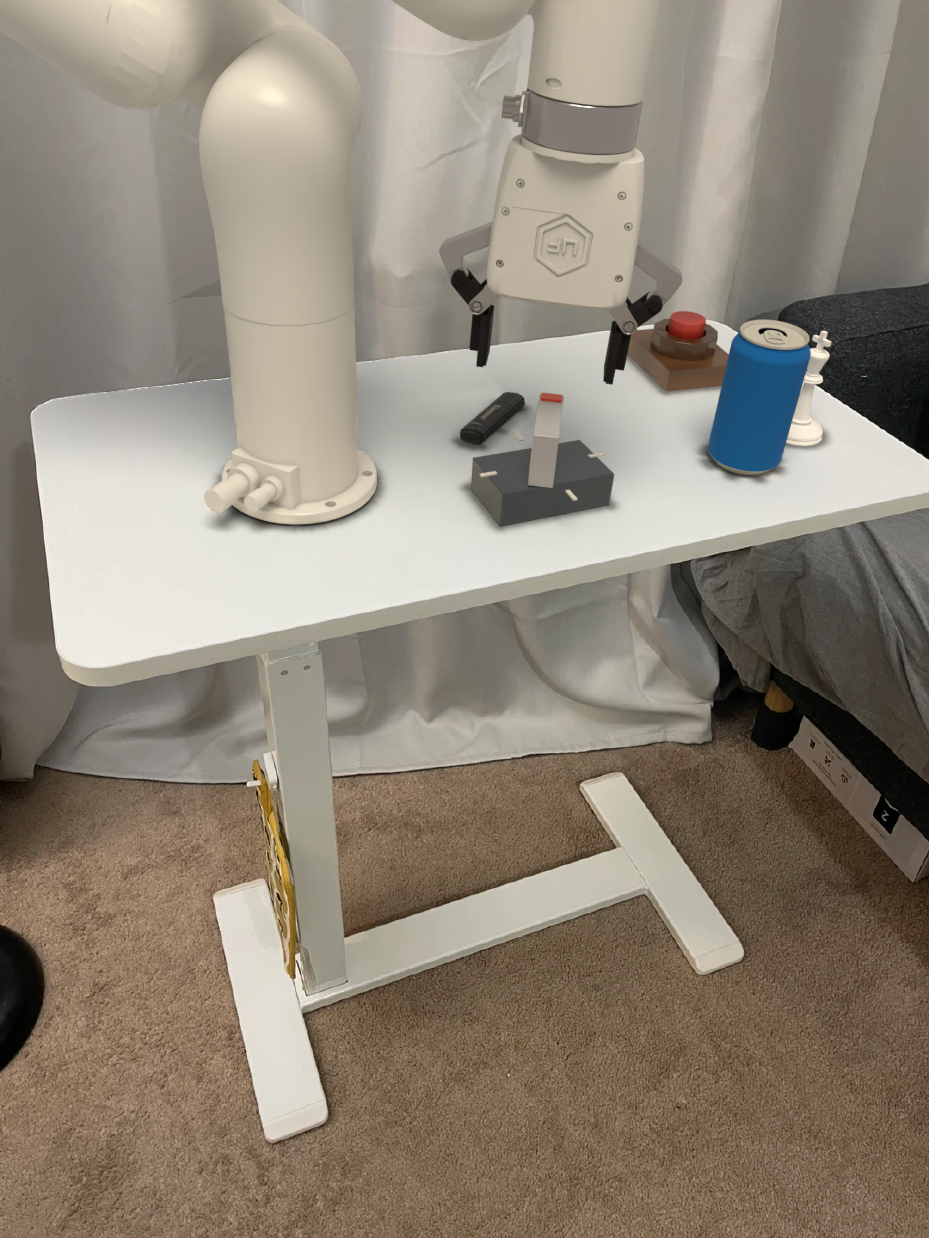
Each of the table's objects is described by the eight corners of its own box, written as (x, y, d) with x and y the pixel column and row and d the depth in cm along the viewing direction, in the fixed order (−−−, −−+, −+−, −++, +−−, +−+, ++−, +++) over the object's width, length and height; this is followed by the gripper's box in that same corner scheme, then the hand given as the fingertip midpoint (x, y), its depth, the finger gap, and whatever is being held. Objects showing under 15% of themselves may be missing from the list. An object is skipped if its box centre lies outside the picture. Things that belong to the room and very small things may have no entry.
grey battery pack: (552, 488, 79) (559, 434, 76) (527, 485, 79) (533, 431, 76) (558, 445, 84) (564, 393, 81) (534, 442, 84) (539, 391, 81)
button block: (736, 384, 102) (745, 347, 99) (666, 392, 100) (673, 354, 97) (689, 344, 109) (697, 309, 107) (623, 350, 107) (629, 314, 105)
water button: (709, 340, 101) (712, 323, 100) (677, 343, 100) (680, 326, 99) (692, 326, 104) (695, 309, 103) (661, 328, 103) (664, 312, 102)
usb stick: (502, 401, 96) (503, 387, 95) (527, 408, 95) (528, 394, 95) (455, 442, 90) (456, 426, 89) (481, 450, 89) (483, 434, 88)
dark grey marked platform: (506, 545, 77) (510, 511, 75) (451, 474, 85) (453, 441, 83) (631, 520, 81) (638, 486, 79) (568, 454, 89) (572, 422, 87)
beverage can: (773, 446, 92) (807, 321, 84) (783, 483, 87) (821, 353, 79) (702, 440, 92) (730, 314, 85) (709, 476, 87) (739, 345, 80)
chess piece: (791, 416, 97) (819, 316, 91) (832, 437, 94) (864, 336, 88) (757, 428, 95) (784, 327, 88) (798, 451, 92) (829, 347, 85)
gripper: (441, 121, 63) (425, 374, 74) (716, 155, 62) (659, 405, 73) (457, 96, 69) (440, 334, 79) (708, 127, 68) (657, 363, 79)
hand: (545, 368), depth 76 cm, fingers open, 9 cm apart
